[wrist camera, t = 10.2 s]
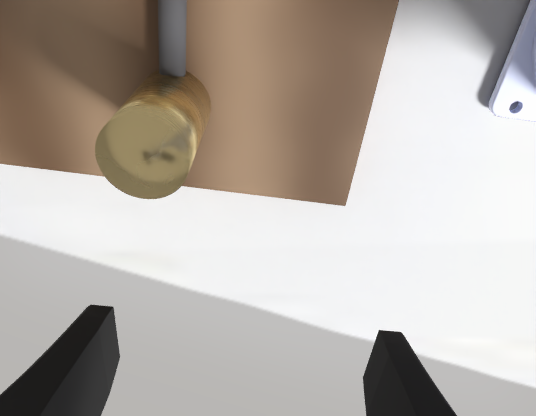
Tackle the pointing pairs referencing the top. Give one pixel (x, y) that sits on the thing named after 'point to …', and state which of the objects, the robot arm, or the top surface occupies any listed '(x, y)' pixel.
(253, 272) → the top surface
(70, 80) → the walnut lane shelf
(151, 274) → the top surface
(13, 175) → the top surface
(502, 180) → the top surface
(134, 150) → the cream block with stem
